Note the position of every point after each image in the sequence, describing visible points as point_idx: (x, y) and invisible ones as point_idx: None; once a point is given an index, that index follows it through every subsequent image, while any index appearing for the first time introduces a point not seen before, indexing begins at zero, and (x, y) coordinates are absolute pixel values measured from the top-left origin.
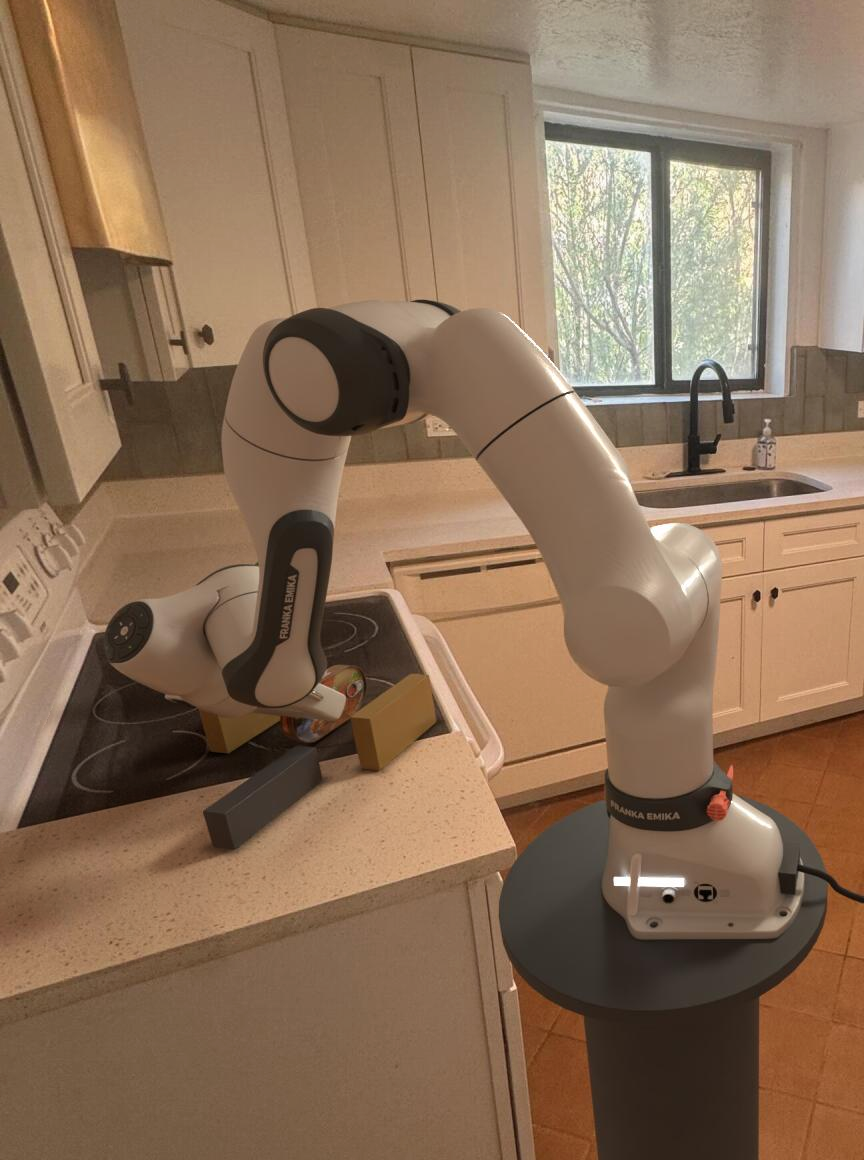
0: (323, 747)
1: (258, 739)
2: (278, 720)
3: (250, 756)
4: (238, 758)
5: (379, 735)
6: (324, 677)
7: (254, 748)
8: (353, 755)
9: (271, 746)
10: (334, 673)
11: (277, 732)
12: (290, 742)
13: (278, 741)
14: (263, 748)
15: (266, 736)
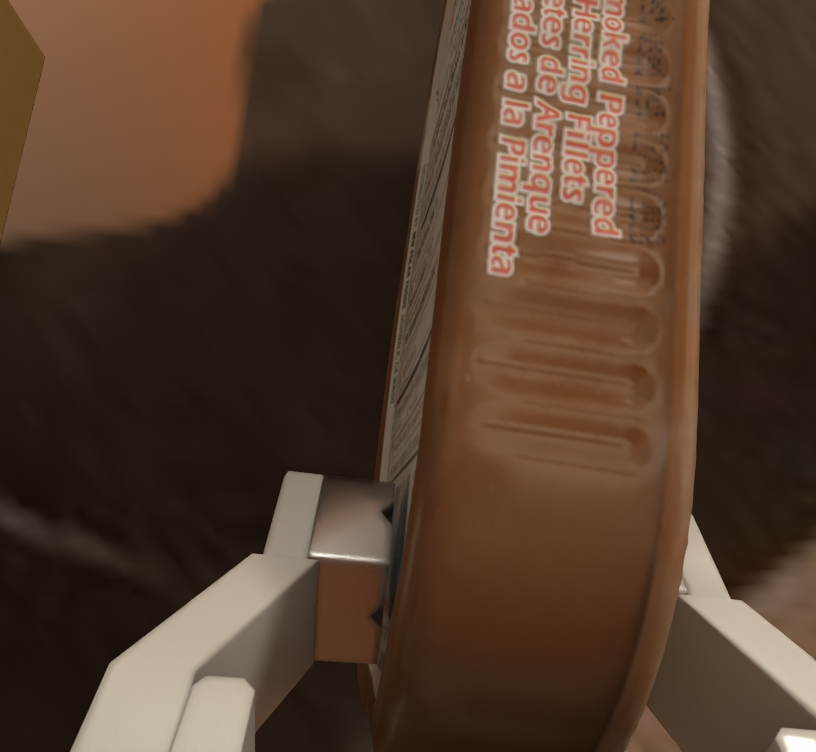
0: None
1: (4, 453)
2: (4, 217)
3: (83, 682)
4: (12, 718)
5: None
6: (632, 104)
7: (47, 573)
8: (770, 595)
9: (152, 535)
10: (700, 3)
11: (82, 354)
12: (251, 472)
13: (160, 467)
14: (111, 567)
15: (37, 410)
